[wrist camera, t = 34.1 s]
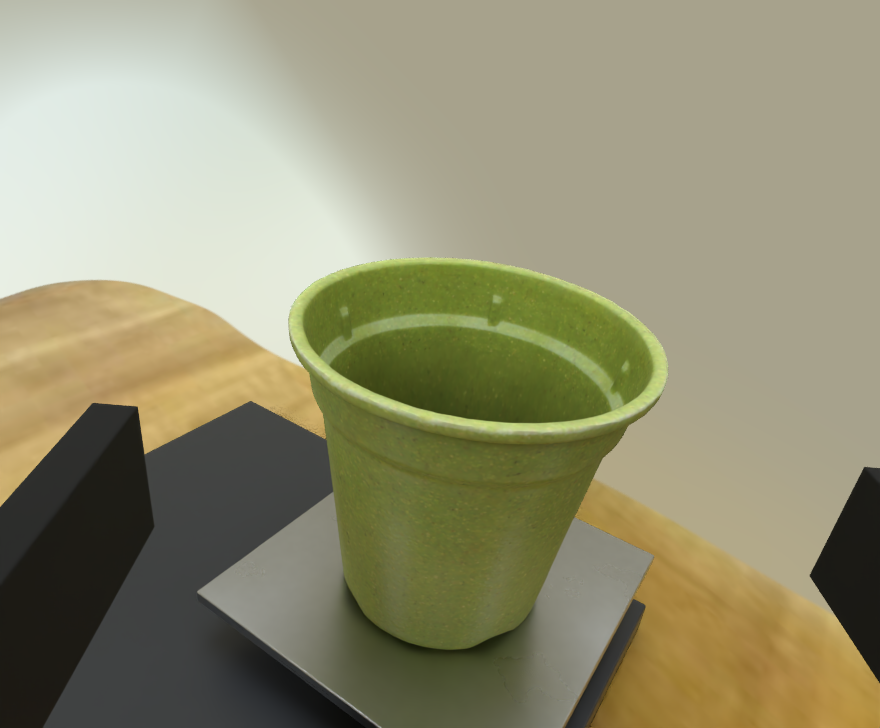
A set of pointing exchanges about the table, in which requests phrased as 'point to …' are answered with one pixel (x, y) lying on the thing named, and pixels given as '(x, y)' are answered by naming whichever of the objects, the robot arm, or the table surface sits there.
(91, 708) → the scale
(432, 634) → the plant pot
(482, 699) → the plate
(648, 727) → the table surface
